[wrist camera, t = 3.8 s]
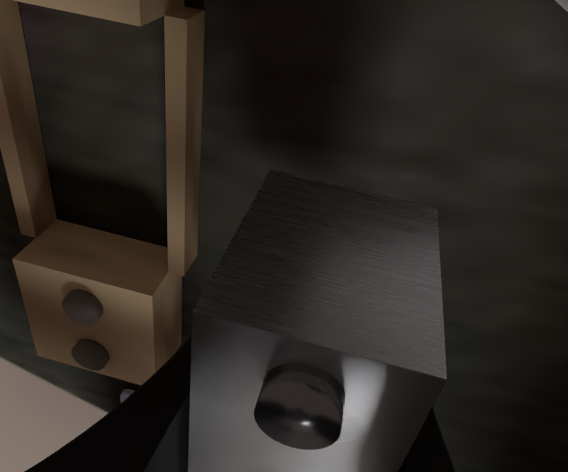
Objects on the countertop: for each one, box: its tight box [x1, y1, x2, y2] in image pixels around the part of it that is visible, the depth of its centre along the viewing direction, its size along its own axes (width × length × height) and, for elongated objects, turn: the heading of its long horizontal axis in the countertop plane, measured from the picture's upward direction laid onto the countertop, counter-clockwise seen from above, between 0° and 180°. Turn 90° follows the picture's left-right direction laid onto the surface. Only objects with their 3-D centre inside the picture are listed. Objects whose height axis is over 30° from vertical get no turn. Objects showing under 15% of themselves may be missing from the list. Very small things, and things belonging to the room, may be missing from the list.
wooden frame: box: [0, 0, 205, 385], centre depth 17 cm, size 22×7×3 cm, turn 173°
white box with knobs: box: [188, 170, 447, 472], centre depth 12 cm, size 8×4×6 cm, turn 173°
